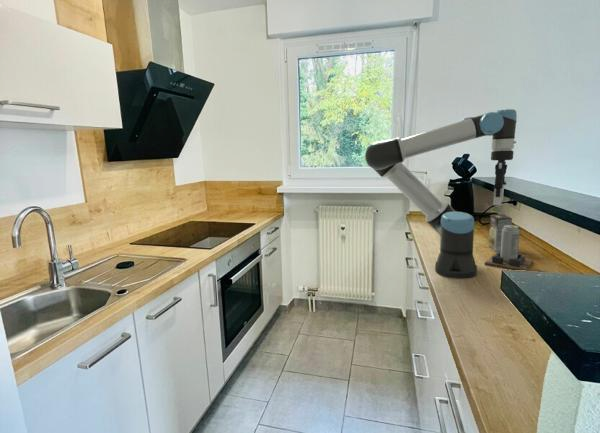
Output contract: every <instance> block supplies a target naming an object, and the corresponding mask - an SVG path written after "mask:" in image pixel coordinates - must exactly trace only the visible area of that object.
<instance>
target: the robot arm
mask: <svg viewBox="0 0 600 433" xmlns="http://www.w3.org/2000/svg"><path fill="white" fill-rule="evenodd" d="M517 118H518V116H517V110H516V109H513V108H512V109H511V108H509V109H499V110H495V111H493V112H492V111H489V112H486V113H484V114H480V115H477V116H473V117H471V116H470V117H465V118H462V120H461V121H457V122H455V123H451V124H448V125H444V126H441V127H437V128H433V129H430V130H428V131H425V132H421V133H418V134H415V135H411V136H408V137H405V138H399V137H396V138H392V139H387V140H386V139H385V140H378V141H375V142H372V143H371V144H369V146H368V147H367V149H366V151H365V155H364V158H365V162H366V163H367V165H368V166H369V167H370V168H371V169H373V171H375V172H376V173H377V174H378V175H379V176H380V177H381V178H387V179H388V180H389V182H391V183H392V184H393V185H394V186H395V187H396V188H397V189H398V190H399V191H400V192H401V193H402V195H403V194H404V196H405V197H406V198H408V200H409V201H410V202H411V203H412V204H413V205H414V206H415V207H417V209H418V210H419V211H420V212H421V213H422V214H423V215H424V217H425V222H426V223H427V224H428V225H429V226H430V227H431V228H432V229H433V230H434V231H435V232H436V233H437V234H438V236H440V241H439V242H440V246H439V247H440V248H439V250H440V252H439V254H438V257H437V261H436V262H435V265H434V266H435V267H434V270H435V272H436V273H437V274H439V275H440V276H444V277H448V278H453V279H470V278H471V279H472V278H474V277H476V276H477V274H478V266H477V265H476V262H475V261H476V260H475V258H474V235H475V218H474V216H473V215H471V214H469V213H467V212H463V211H457V210H455V209H454V208H453V206H451V205H450V204H449V203H448V202H446V201H445V202H443V201H441V200H439V199H438V197H436V195H435V194H434V193H433V192H431V190H430V189H428V187H427V186H426V185H424V183H422V182H421V181H420V180H419V178H417V177H416V176H415V175H414V174H413V172H412V171H410V169H408V168H407V167H406V166H405V165H404V164H403V162H404V161H405V160H406V159H408V158H412V157H415V156H418V155H422V154H425V153H429V152H432V151H436V150H440V149H442V148H445V147H446V148H447V147H450V146H453V145H457V144H460V143H463V142H468V141H471V140H474V139H475V140H476V139H479V138H482V137H492V138H491V150H492V151H491V154H490V160H491V161H497V163H496V164H495V166H494V170H495V172H494V175H495V180H494V185H492V190H493V202H492V204H493V206H502V202H503V201H504V193H505V192H504V190H505V186H506V185H507V182H506V181H505V179H506V178H505V177H506V173H507V168H508V164H507V163H506V161H512V160H513V159H514V150H513V149H514V148H515V145H514V144H517V141H516V140H515V138H516V137H515V136H516V128H517V127H516V126H517Z"/></svg>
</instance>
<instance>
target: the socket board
mask: <svg viewBox="0 0 600 433" xmlns="http://www.w3.org/2000/svg"><path fill="white" fill-rule="evenodd" d="M500 254H501V251H498V252H496V253H494V254H493V255H492V256H491V257H490V258H488V259H487V260H486V261H484V263H483V264H484V266H489V267H493V268H494V267H495V268H499V269H503V270H509V269H511V270H510V271H515V270H526V271H527V270H528V269H529V267H530V266H531V265H532V264H533V261H534V260H533V259H529V258H528V259H527V258H526V255H527V254H522V253H518V260H515V259H509V263H505V262H503V257H500Z"/></svg>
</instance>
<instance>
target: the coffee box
mask: <svg viewBox="0 0 600 433" xmlns="http://www.w3.org/2000/svg"><path fill="white" fill-rule="evenodd" d="M512 220H513V218H512V217H510V216H509V215H506V214H490V215H489V234H488V247H489V248H490V249H491V250H493V252H496V253H497V252H498V251H501V238H502V229H503V228H504V226H505V225H513V224H512V222H513V221H512Z"/></svg>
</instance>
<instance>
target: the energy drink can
mask: <svg viewBox="0 0 600 433" xmlns="http://www.w3.org/2000/svg"><path fill="white" fill-rule="evenodd" d="M520 232H521V231H520V229H519V226H518V225H513V224H511V225H505V226H504V228H503V229H502V238H501V254H500V257H503V262H505V263H509V259H515V260H518V254H519V247H520Z"/></svg>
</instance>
